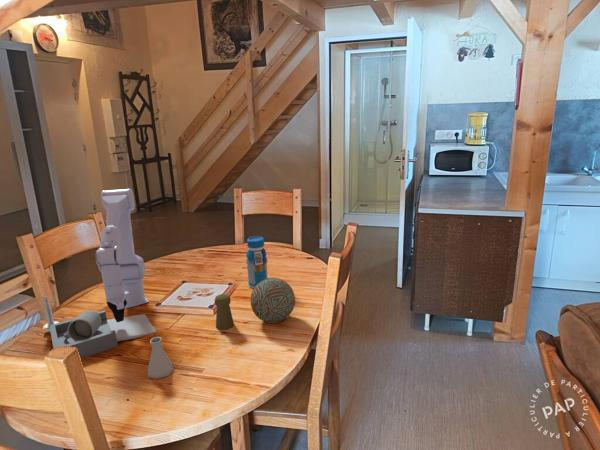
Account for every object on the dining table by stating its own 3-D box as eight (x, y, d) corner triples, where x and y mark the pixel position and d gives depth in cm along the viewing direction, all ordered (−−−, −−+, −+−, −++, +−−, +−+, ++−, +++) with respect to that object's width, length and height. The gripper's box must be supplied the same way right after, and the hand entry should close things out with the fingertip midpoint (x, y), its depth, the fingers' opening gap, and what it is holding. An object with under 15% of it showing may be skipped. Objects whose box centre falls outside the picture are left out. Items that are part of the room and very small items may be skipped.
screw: (61, 331, 136) (44, 336, 134) (60, 325, 140) (44, 330, 138) (53, 296, 133) (36, 300, 130) (52, 291, 137) (35, 295, 134)
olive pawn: (230, 330, 133) (227, 300, 130) (212, 329, 134) (209, 299, 131) (236, 321, 139) (234, 292, 136) (220, 320, 140) (217, 291, 137)
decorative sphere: (267, 306, 149) (264, 268, 145) (303, 314, 142) (302, 274, 138) (243, 325, 136) (239, 284, 132) (282, 335, 129) (279, 292, 125)
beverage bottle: (244, 287, 165) (240, 240, 160) (254, 279, 173) (251, 234, 167) (263, 290, 162) (259, 242, 157) (272, 282, 170) (269, 236, 164)
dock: (53, 341, 132) (49, 325, 131) (143, 315, 148) (141, 300, 146) (58, 368, 118) (53, 350, 116) (158, 336, 133) (155, 319, 132)
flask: (150, 364, 117) (145, 333, 114) (176, 362, 117) (172, 331, 115) (143, 380, 110) (138, 348, 107) (170, 378, 110) (166, 346, 108)
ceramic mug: (104, 327, 134) (100, 306, 132) (95, 341, 126) (90, 319, 124) (71, 330, 133) (66, 309, 131) (59, 344, 125) (54, 322, 123)
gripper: (131, 287, 127) (137, 325, 131) (121, 272, 138) (127, 308, 142) (107, 293, 123) (114, 333, 127) (99, 278, 135) (105, 314, 138)
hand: (119, 320), depth 134 cm, fingers closed
